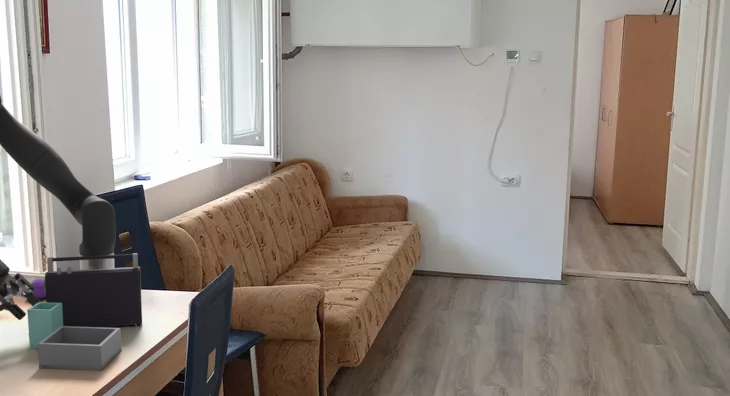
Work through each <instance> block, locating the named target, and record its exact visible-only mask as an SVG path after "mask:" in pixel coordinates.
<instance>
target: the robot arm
mask: <svg viewBox="0 0 730 396" xmlns="http://www.w3.org/2000/svg"><path fill="white" fill-rule="evenodd" d="M2 101H3V100H2V97H1V95H0V146H1V147H2V149H4V151H5V152H6V153H7V154H8V155H9V157H11V158H12V160H13V161H15V162H16V164H17V165H18V166H19V167H20V168H21V169H22V170H23V171H24V172H26V174H28V176H29V177H30V178H32V179H33V180H34V181H35V182H36V183H38V185H39V186H41V187H43V188H44V189H45V190H46V191H48V192H49V193H50V194H52V195H53V196H54V197H55V198H56V199H58V201H60V202H61V204H62V205H63V206H64V207H65V208H66V209H67V211H68V212H69V213H70V214H71V215H72V217H73V218H74V219H75V221H77V223H78V224H79V225H81V230H82V237H81V238H82V241H81V243H79V247H78V251H79V254H78V255H79V257H80V256H101V255H115V253H114V252H115V249H114V248H115V244H116V237H117V235H116V233H117V232H116V231H117V230H116V229H117V227H116V225H117V224H116V221H117V219H116V211H115V208H114V206H113V205H112V204H111V203H110V202H109V201H107V200H106V199H103V198H101V197H98V196H97V195H96V194H94V193H93V192H91V191H90V190H89V189H88V188H86V186H84V185H83V184H82V183H81V182H80V181H79V179H77V178H76V177H75V175H74V174H73V172H72V171H71V169H70V167H69V166H68V164H67V163H66V162H65V160H64V159H63V158H62V157H61V156H60V154H59V153H58V152H57V151H56V150H55V149H54V148H53V147H52V146H51V145H50V144H49V143H48V142H47V141H45V140H44V139H43V138H42V137H40V136H39V135H38V134H37V133H36V132H35V131H33V130H31V129H30V128H29V127H28V126H26V125H25V124H23V123H22V122H20V121H19V120H18V119H17V118H15V116H14V115H12V114H11V112H9V110H8V109H7V108H6V107H5V105H4V104H2V103H3V102H2ZM108 268H115V258H113V259H93V260H79V270H89V269H108ZM31 283H32V282H29V280H28V279H26V278H25V277H24V276H23V275H22V274H21V273H20V272H17V273H16V274H15V275H13V276H12V275H10V267H9V266H8V265H7V264H6V263H5V262H4V261H3V260H2V259H0V312H3V311H4V310H5V311H8V312H9V313H11V314H12V315H13V316H14V318H15V319H17V320H18V321H22V320H23V319H24V317H26V315H27V314H26V312H25V311H24V310H23V309H22V308H21V307H20V305H18V304H16V303H15V301H14V297H18V298H19V297H21V298H23V299H25V301H26V302H28V304H30V305H31V307H32V306H34V305H35V304H37V303H38V302H42V300H40V299H38V298H37V297H36V296H35V295H34V294H33V290H34V289H35V287H34V286H33V285H32V284H31Z"/></svg>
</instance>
